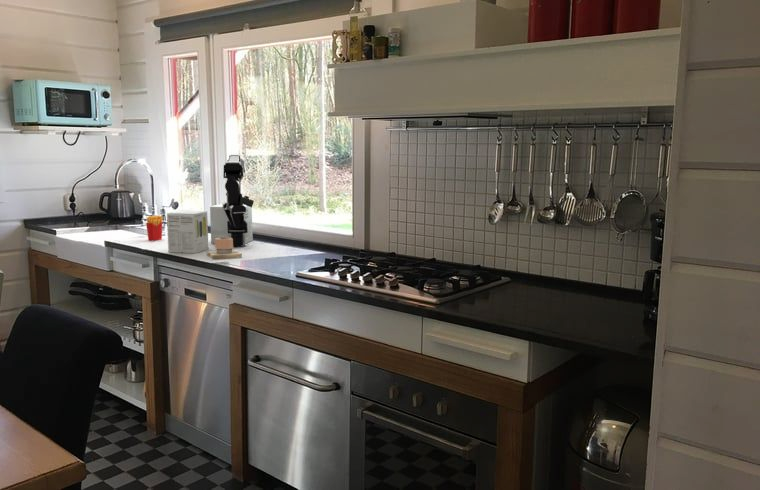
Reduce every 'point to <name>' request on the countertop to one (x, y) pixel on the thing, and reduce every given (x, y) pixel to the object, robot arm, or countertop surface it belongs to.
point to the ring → (224, 243)
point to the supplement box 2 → (220, 222)
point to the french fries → (154, 227)
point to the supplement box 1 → (187, 231)
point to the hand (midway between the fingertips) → (234, 226)
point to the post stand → (224, 252)
